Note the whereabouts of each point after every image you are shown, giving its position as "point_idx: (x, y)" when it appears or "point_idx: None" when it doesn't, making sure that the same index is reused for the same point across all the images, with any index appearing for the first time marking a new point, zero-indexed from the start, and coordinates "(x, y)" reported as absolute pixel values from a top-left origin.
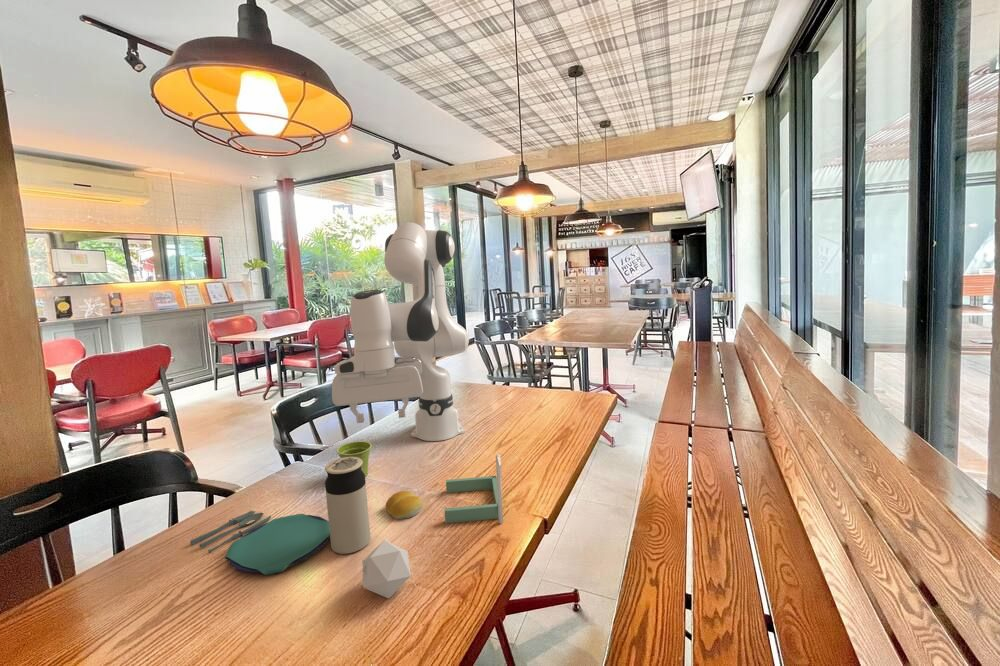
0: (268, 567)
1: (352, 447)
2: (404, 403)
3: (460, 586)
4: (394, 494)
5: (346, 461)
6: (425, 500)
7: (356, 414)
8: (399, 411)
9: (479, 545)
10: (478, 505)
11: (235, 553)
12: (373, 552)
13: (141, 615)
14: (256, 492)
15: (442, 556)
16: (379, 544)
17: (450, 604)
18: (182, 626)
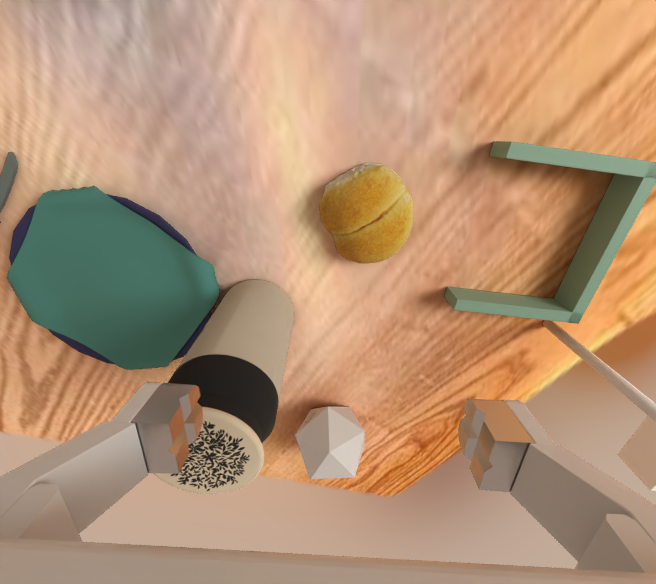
0: (135, 365)
1: None
2: (586, 524)
3: (423, 433)
4: (345, 204)
5: (204, 444)
6: (423, 181)
7: (122, 487)
8: (486, 483)
9: (480, 370)
10: (532, 308)
11: (42, 312)
12: (313, 465)
13: (3, 389)
14: None
15: (415, 379)
16: (321, 447)
17: (404, 452)
18: (81, 416)
